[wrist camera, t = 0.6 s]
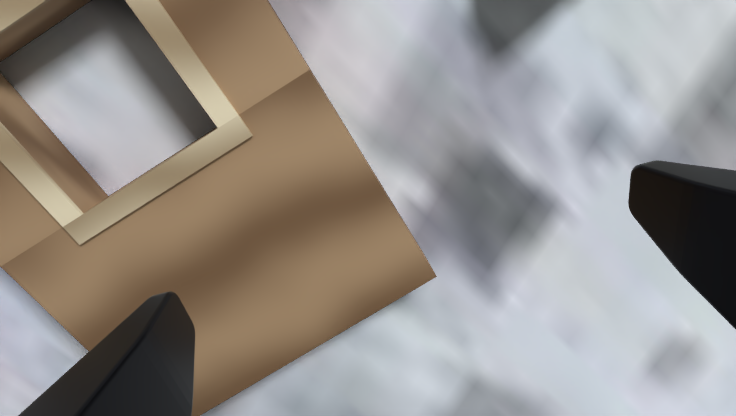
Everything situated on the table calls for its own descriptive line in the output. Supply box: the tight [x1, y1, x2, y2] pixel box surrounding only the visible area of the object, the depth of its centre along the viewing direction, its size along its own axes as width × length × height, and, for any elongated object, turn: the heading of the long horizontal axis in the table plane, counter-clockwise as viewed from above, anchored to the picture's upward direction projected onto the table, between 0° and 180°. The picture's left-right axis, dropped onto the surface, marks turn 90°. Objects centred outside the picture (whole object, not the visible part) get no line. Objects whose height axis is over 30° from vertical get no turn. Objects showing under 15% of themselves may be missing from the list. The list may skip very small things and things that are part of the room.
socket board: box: [0, 0, 437, 416], centre depth 20 cm, size 22×16×3 cm
